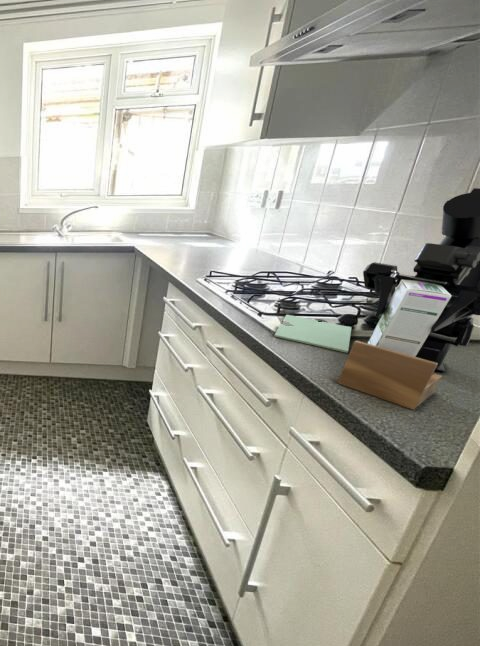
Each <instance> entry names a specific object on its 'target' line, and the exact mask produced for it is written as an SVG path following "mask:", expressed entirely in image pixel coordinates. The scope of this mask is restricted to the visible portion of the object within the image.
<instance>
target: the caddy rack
mask: <svg viewBox="0 0 480 646" xmlns="http://www.w3.org/2000/svg"><path fill="white" fill-rule="evenodd" d="M367 343H368V342H363V341H360V340H355V341H354V342H353V344H352V347H351V349H350V351H349V355H348V356H347V359H346V361H345V364H344V367H343V369H342V371H341V373H340V375H339V377H338V378H339V379H338V381H337V384H339V385H342V386H344V387H347V388H350V389H353V390H355V391H359V392H361V393H365V394H367V395H370V396H372V397H376V398H378V399H381V400H384V401H386V402H390V403H393V404H395V405H398V406H401V407H404V408H407V409H409V410H411V411H412V410H413V411H414V410H415V409H416V408H417V407H419V406H420V405H421V404H423V403H424V402H425V401H426V400H427V399H429V398H430V397H432V395H433V394H434V392H435V390H436V388H437V386H438V385H439V382H440V381H441V378H442V375H441V374H438V373H435V371H434V370H435V368H436V366H437V365H438V363H435V362H432V361H428V360H425V359H421V358H417V357H414V356H410V355H407V354H403V353H400V352H396V351H392V350H389V349H385V348H382V347H378V346H374V345H371V344H367Z"/></svg>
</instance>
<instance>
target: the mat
mask: <svg viewBox="0 0 480 646" xmlns="http://www.w3.org/2000/svg"><path fill="white" fill-rule="evenodd" d="M282 321H284V322H285V321H286V322H289V323H290V324H292V325H294V326H285V325H283V324H281V323H280V325H279V327H278V328H277V330H276V331H275V333H274V336H273V337H276V338H279V339H283V340H287V341H292V342H297V343H301V344H306V345H311V346H313V347H314V346H315V347H319V348H323V349H327V350H332V351H337V352H342V353H344V354H345V353H346V354H348V353H349V348H350V341H351V335H352V326H349V325H347V326H346V325H343V324H338V323H332V322H328V321H327V322H326V321H322V322H318V321H319V320H316V319H311V318H306V317H301V316H297V315H291V314H286V315H285V316H284V318H283V320H282Z"/></svg>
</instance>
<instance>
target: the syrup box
mask: <svg viewBox="0 0 480 646" xmlns="http://www.w3.org/2000/svg"><path fill="white" fill-rule="evenodd" d="M450 298H451V294H449V293H448V292H447V291H446V290H445V289H444V288H443V287H442V286H441V285H437V284H433V283H428V282H421V281H412V280H403V279H402V280H401V281H400V283H399V285H398V286H397V287H396V288H395V292H394V294H393V296H392V298H391V300H390V302H389V303H388V305H387V307H386V309H385V312H384V313H383V314H382V315H381V316H380V317H379V320H378V322H377V324H376V326H375V328H374V330H373V331H372V332H371V333H372V334H371V335H370V338H369V339H368V341H367V342H366V343H367V344H371V345H374V346H378V347H382V348H385V349H389V350H392V351H396V352H400V353H403V354H407V355H410V356H414V357H415V356H416V355H417V353H418V351H419V350H420V348H421V347H422V345H423V343H424V342H425V340H426V338H427V337H428V335H429V333H430V332H431V328H432V326H433V325H434V323H435V322H436V321H437V320H438V318H439V316H440V315H441V313H442V311H443V310H444V308H445V306H446V305H447V303H448V301H449V300H450Z"/></svg>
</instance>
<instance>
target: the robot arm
mask: <svg viewBox="0 0 480 646" xmlns="http://www.w3.org/2000/svg"><path fill="white" fill-rule="evenodd" d="M441 235H443V236H444V237H443V238H442V240H441V241H440V243H439V244H438V243H429V242H425V243H424V244H423V245H422V247H421V248H420V250H419V251H418V253H417V254H416V257H415V258H414V262H415V263H416V264H415V265H414V267H413V272H414V273H415V274H414V275H409V274H404V273H400V271H398V265H393V264H389V263H388V264H387V263H381V262H371V263H369V264H367V266H366V267H365V268H364V270H363V271H362V276H363V285H364V287H365V288H366V289H367V290H372V291H375V294H377V295H379V298H378V302H377V308H376V312H375V318H377V319H380V318H381V317H382V315H383V313H384V312H385V309H386V307H387V305H388V303H389V302H390V300H391V298H392V296H393V294H394V292H395V290H396V288H397V287H398V285H399V283H400V281H401V280H402V279H403V280H412V281H421V282H428V283H433V284H437V285H441V286H442V287H443V288H444V289H445V290H446V291H447V292H448V293H449V294H451V298H450V300H449V301H448V303H447V305H446V306H445V308H444V310H443V311H442V313H441V315H440V316H439V318H438V320H437V321H436V322H435V323H434V325H433V326H432V328H431V332H430V333H429V335H428V337H427V338H426V340H425V342H424V343H423V345H422V347H421V348H420V350H419V351H418V353H417V355H416V356H415V357H417V358H421V359H425V360H428V361H432V362H435V363H438V365H437V366H436V368H435V370H434V372H439V373H444V372H446V369H445V366H444V363H443V362H444V360H445V358H446V356H447V355H448V353H449V351H450V348H451V346H454V347H459V346H460V347H461V346H463V347H467V346H468V344H469V343H470V340H471V338H472V336H473V332H474V329H475V324H474V320H475V319H474V317H473V315H474V316H480V188H479V187H475V188H473V189H471V191H470V192H466V193H463V194H459V195H456V196H454V197H452V198H450V199H448V200H447V201H445V203H444V204H443V206H442V220H441Z"/></svg>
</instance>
